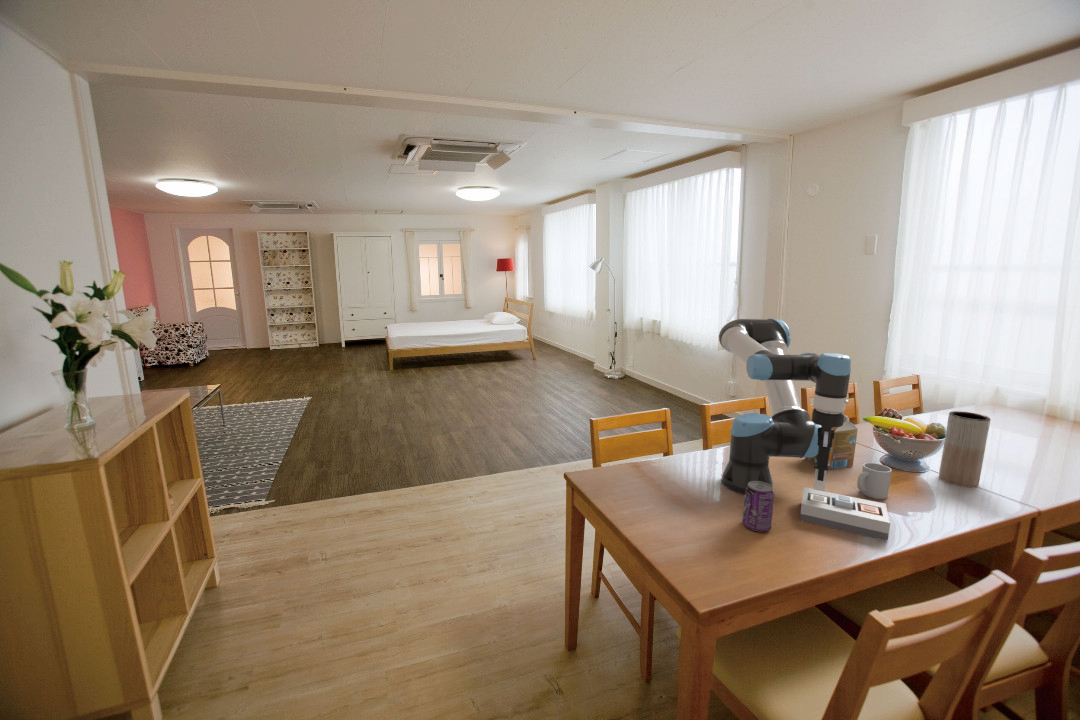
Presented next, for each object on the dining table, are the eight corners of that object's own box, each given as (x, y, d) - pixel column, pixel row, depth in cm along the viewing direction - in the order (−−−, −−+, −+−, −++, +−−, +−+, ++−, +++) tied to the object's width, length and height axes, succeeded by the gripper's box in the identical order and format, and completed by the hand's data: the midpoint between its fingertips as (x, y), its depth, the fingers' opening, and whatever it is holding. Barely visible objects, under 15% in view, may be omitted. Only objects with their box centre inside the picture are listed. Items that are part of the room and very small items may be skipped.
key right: (860, 520, 128) (861, 509, 127) (859, 514, 131) (860, 503, 130) (877, 524, 126) (879, 513, 125) (876, 517, 129) (878, 507, 128)
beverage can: (746, 517, 133) (750, 477, 131) (773, 525, 129) (777, 485, 127) (738, 527, 128) (742, 486, 126) (766, 536, 123) (771, 494, 121)
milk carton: (805, 458, 175) (810, 409, 172) (827, 455, 179) (832, 407, 175) (830, 469, 166) (836, 418, 162) (852, 466, 169) (859, 415, 165)
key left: (809, 509, 134) (810, 498, 133) (809, 503, 137) (810, 493, 137) (825, 512, 132) (826, 502, 131) (825, 506, 135) (826, 496, 134)
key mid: (834, 509, 130) (835, 499, 130) (834, 503, 134) (835, 493, 133) (851, 513, 128) (853, 502, 128) (851, 507, 132) (852, 497, 131)
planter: (949, 485, 153) (960, 418, 149) (932, 473, 163) (942, 409, 158) (986, 489, 151) (998, 421, 147) (966, 476, 160) (977, 411, 156)
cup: (893, 498, 145) (897, 471, 143) (866, 501, 143) (870, 473, 141) (872, 487, 152) (876, 461, 150) (846, 490, 150) (850, 464, 148)
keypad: (799, 520, 132) (801, 503, 131) (801, 502, 142) (803, 487, 141) (887, 540, 122) (890, 523, 121) (883, 520, 132) (885, 503, 131)
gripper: (845, 418, 122) (834, 502, 126) (844, 406, 133) (834, 483, 137) (812, 414, 126) (802, 495, 130) (813, 402, 137) (804, 477, 141)
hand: (818, 489), depth 134 cm, fingers closed
